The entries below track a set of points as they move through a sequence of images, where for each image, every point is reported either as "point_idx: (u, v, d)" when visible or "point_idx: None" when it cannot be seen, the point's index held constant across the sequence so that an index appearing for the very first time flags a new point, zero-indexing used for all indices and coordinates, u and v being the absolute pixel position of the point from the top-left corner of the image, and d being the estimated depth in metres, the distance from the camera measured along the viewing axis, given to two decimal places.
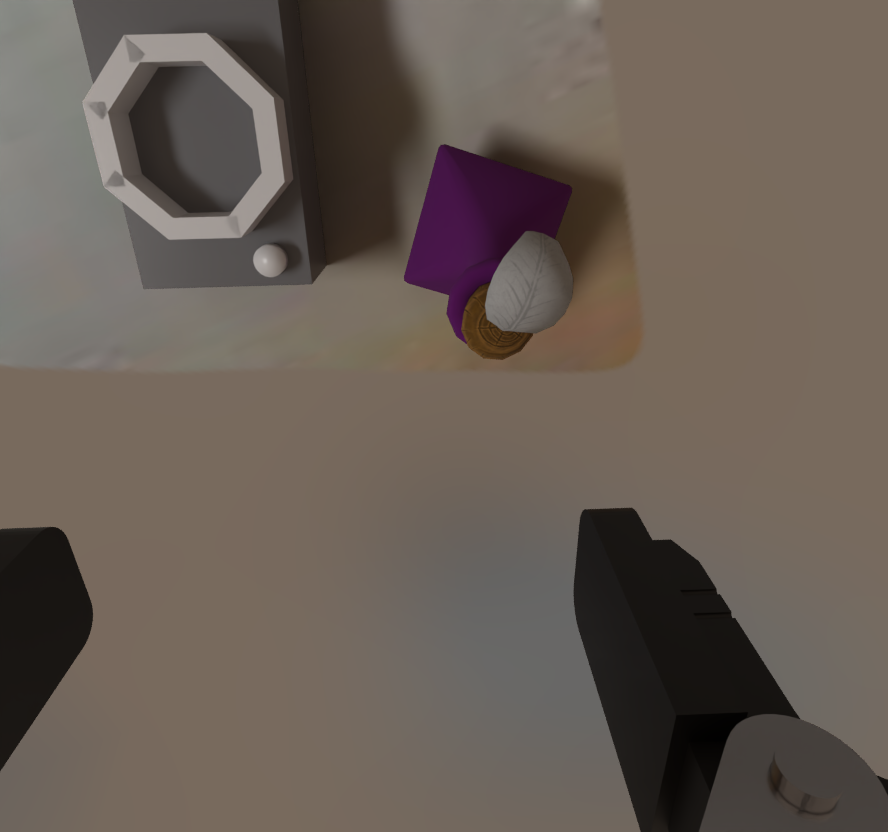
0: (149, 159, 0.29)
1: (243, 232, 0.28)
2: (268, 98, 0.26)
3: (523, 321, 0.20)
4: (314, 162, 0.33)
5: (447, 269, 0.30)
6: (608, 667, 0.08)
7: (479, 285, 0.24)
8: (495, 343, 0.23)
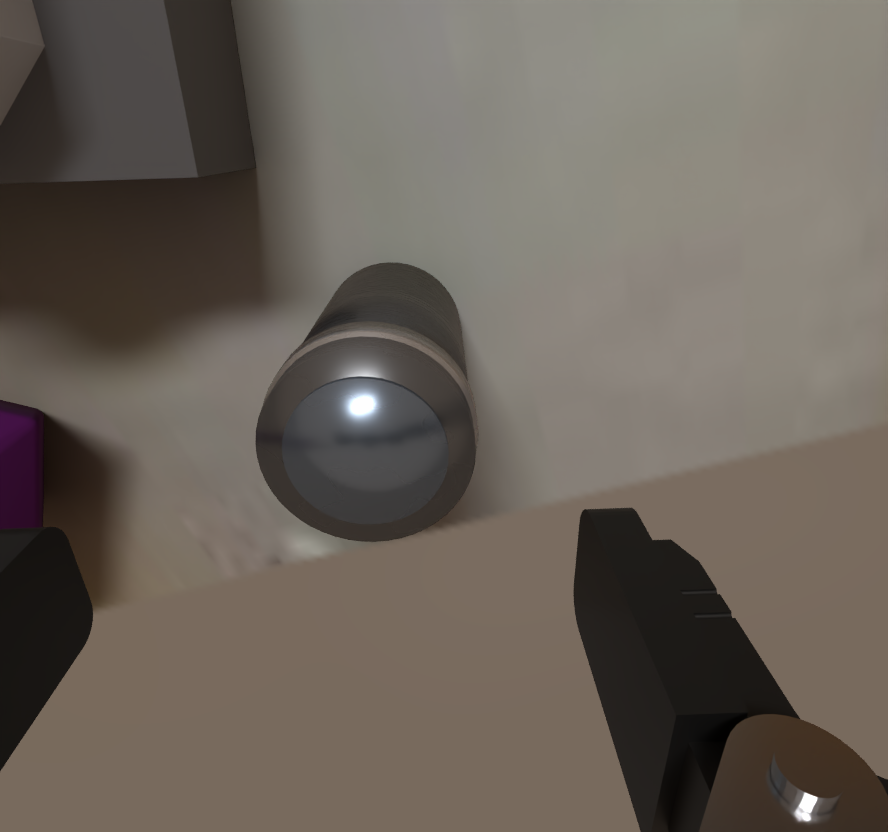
0: None
1: None
2: None
3: None
4: None
5: None
6: (608, 667, 0.08)
7: None
8: None
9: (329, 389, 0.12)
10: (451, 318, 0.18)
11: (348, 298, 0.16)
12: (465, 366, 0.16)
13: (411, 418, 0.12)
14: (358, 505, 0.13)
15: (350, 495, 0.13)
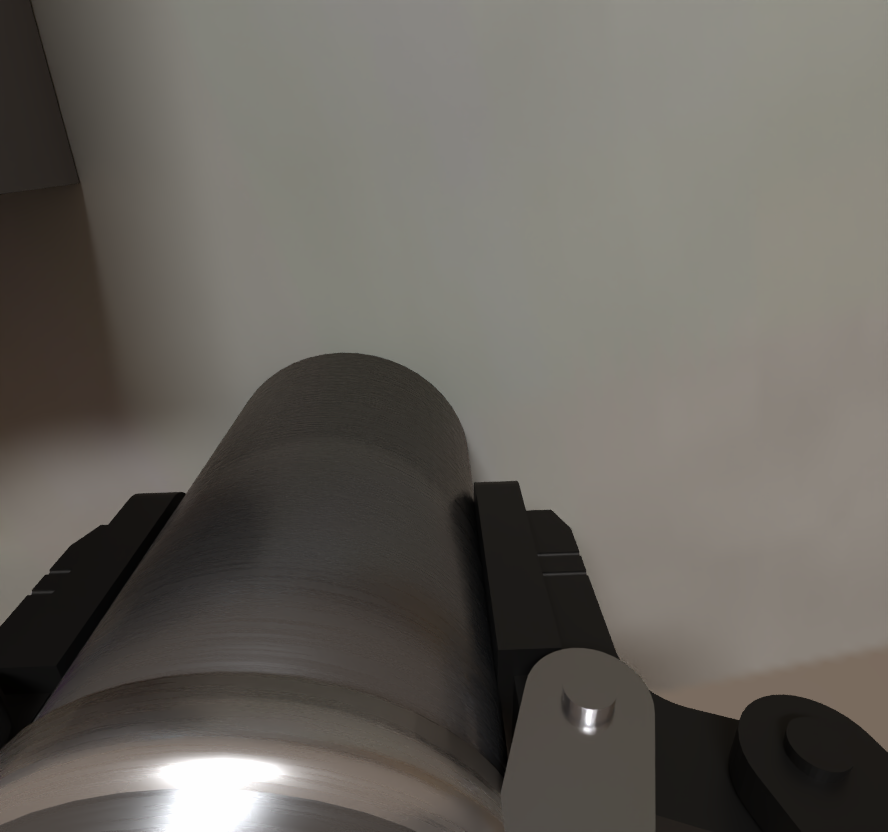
0: None
1: None
2: None
3: None
4: None
5: None
6: None
7: None
8: None
9: None
10: (456, 489, 0.09)
11: (231, 479, 0.07)
12: None
13: None
14: None
15: None
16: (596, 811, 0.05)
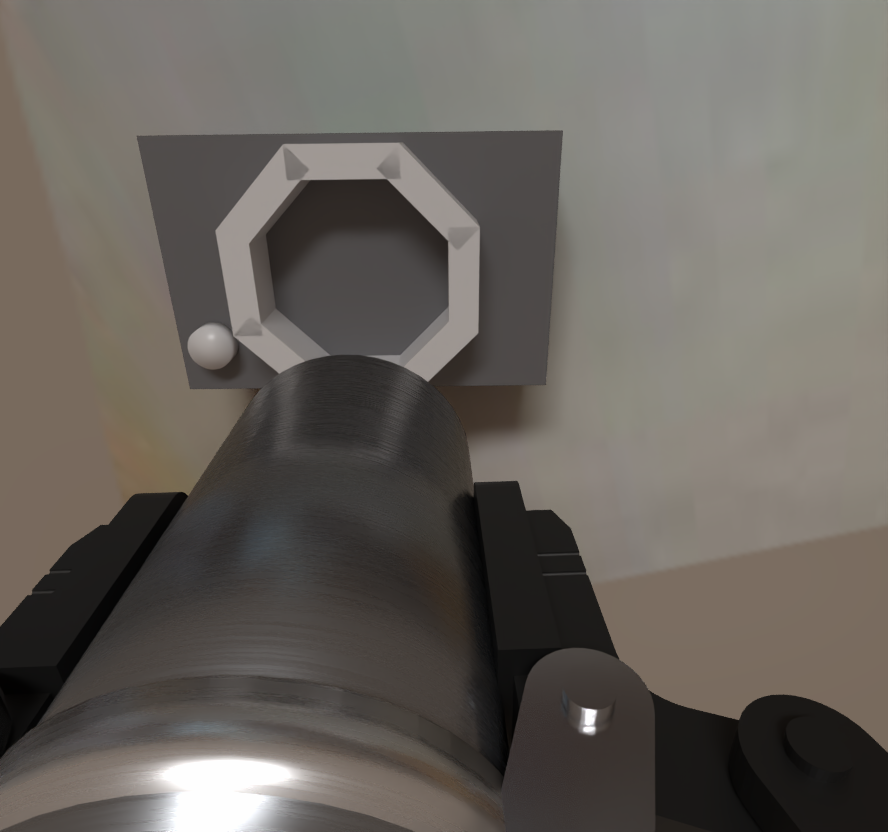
0: (334, 192, 0.20)
1: (241, 340, 0.20)
2: None
3: None
4: None
5: None
6: None
7: None
8: None
9: None
10: (458, 491, 0.09)
11: (234, 481, 0.07)
12: None
13: None
14: None
15: None
16: (596, 811, 0.05)
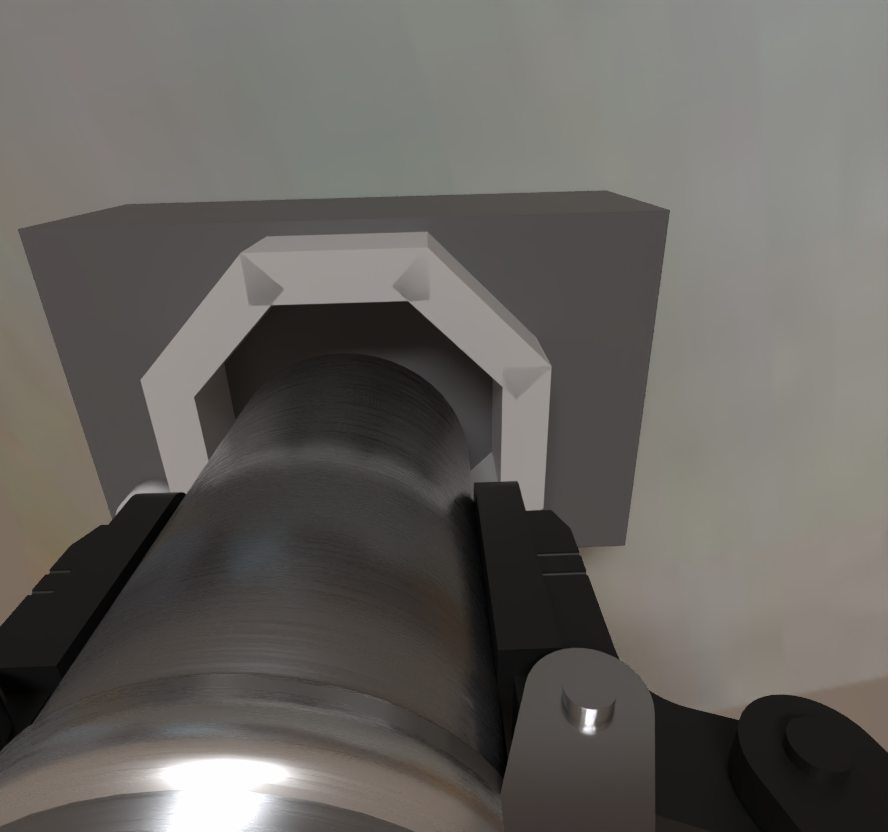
0: (324, 303, 0.13)
1: None
2: None
3: None
4: None
5: None
6: None
7: None
8: None
9: None
10: (456, 490, 0.09)
11: (231, 480, 0.07)
12: None
13: None
14: None
15: None
16: (596, 811, 0.05)
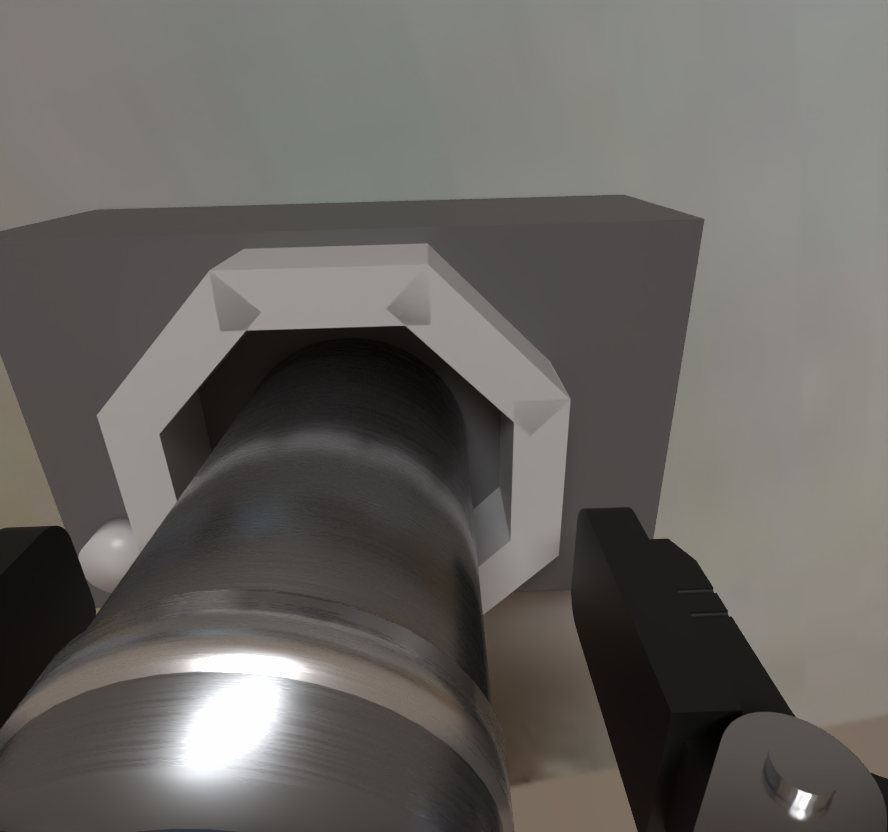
0: None
1: None
2: None
3: None
4: None
5: None
6: (605, 665, 0.08)
7: None
8: None
9: None
10: (450, 460, 0.10)
11: (246, 445, 0.08)
12: (478, 577, 0.08)
13: None
14: None
15: None
16: None
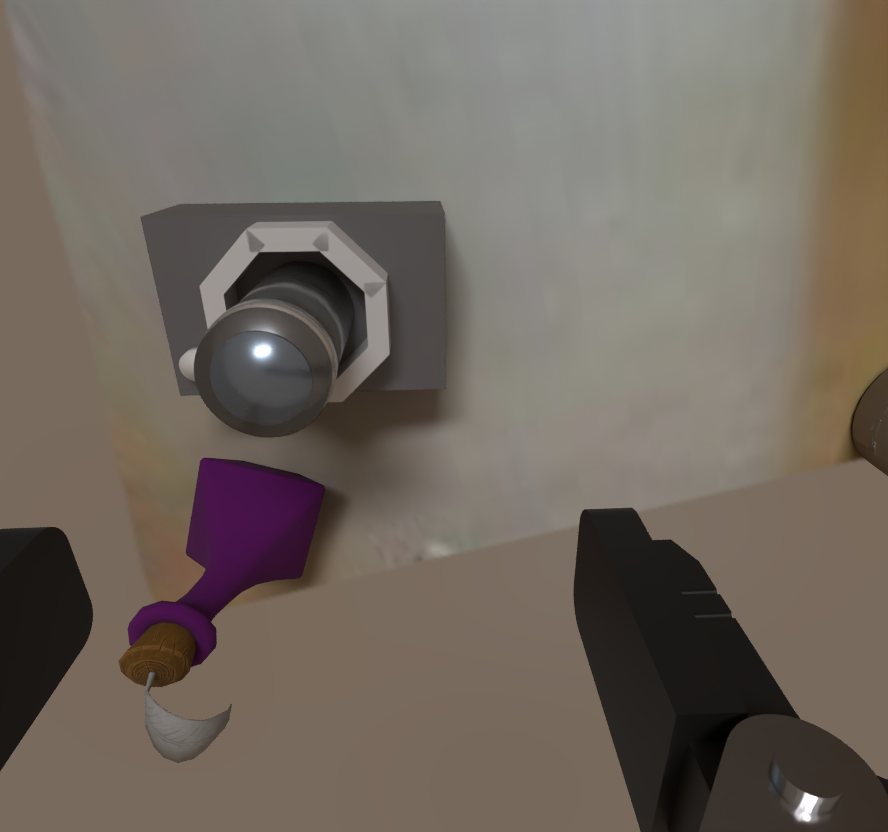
0: (284, 255, 0.28)
1: None
2: (341, 397, 0.29)
3: (152, 730, 0.24)
4: None
5: (214, 521, 0.33)
6: (608, 667, 0.08)
7: (189, 630, 0.27)
8: (134, 671, 0.26)
9: (236, 338, 0.20)
10: (336, 299, 0.26)
11: (261, 285, 0.24)
12: (340, 331, 0.25)
13: (287, 356, 0.21)
14: (259, 413, 0.22)
15: (253, 405, 0.21)
16: None
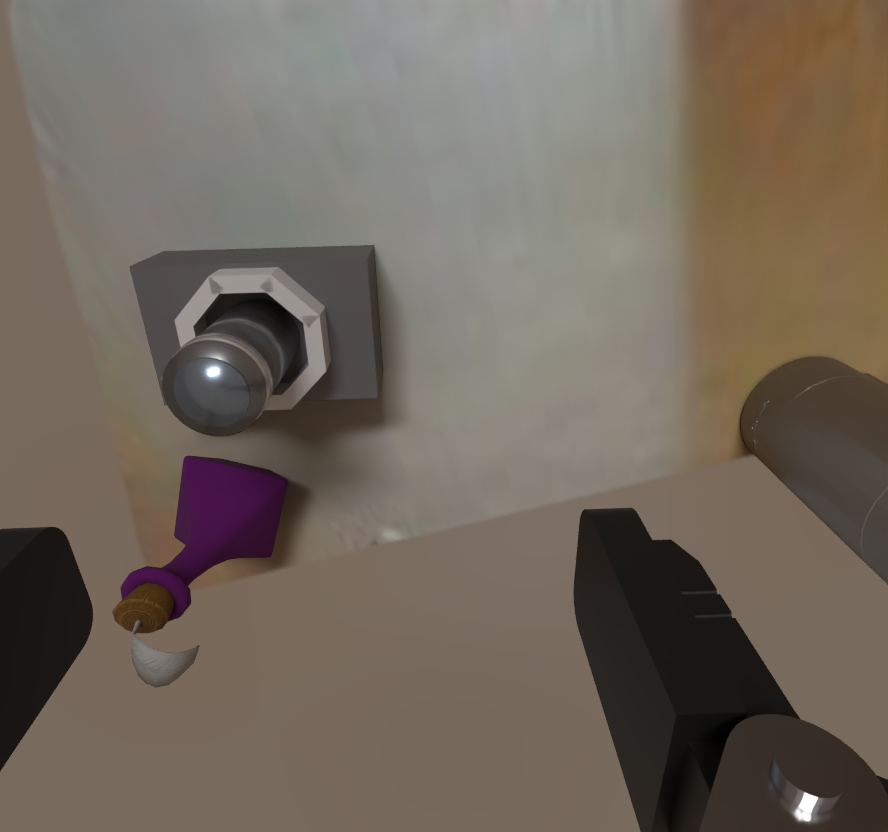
0: (242, 293, 0.35)
1: None
2: (290, 405, 0.37)
3: (136, 661, 0.31)
4: None
5: (194, 507, 0.41)
6: (608, 667, 0.08)
7: (168, 589, 0.35)
8: (124, 620, 0.33)
9: (191, 363, 0.28)
10: (278, 329, 0.33)
11: (218, 320, 0.32)
12: (279, 354, 0.32)
13: (229, 375, 0.28)
14: (212, 418, 0.29)
15: (207, 412, 0.29)
16: None
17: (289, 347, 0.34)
